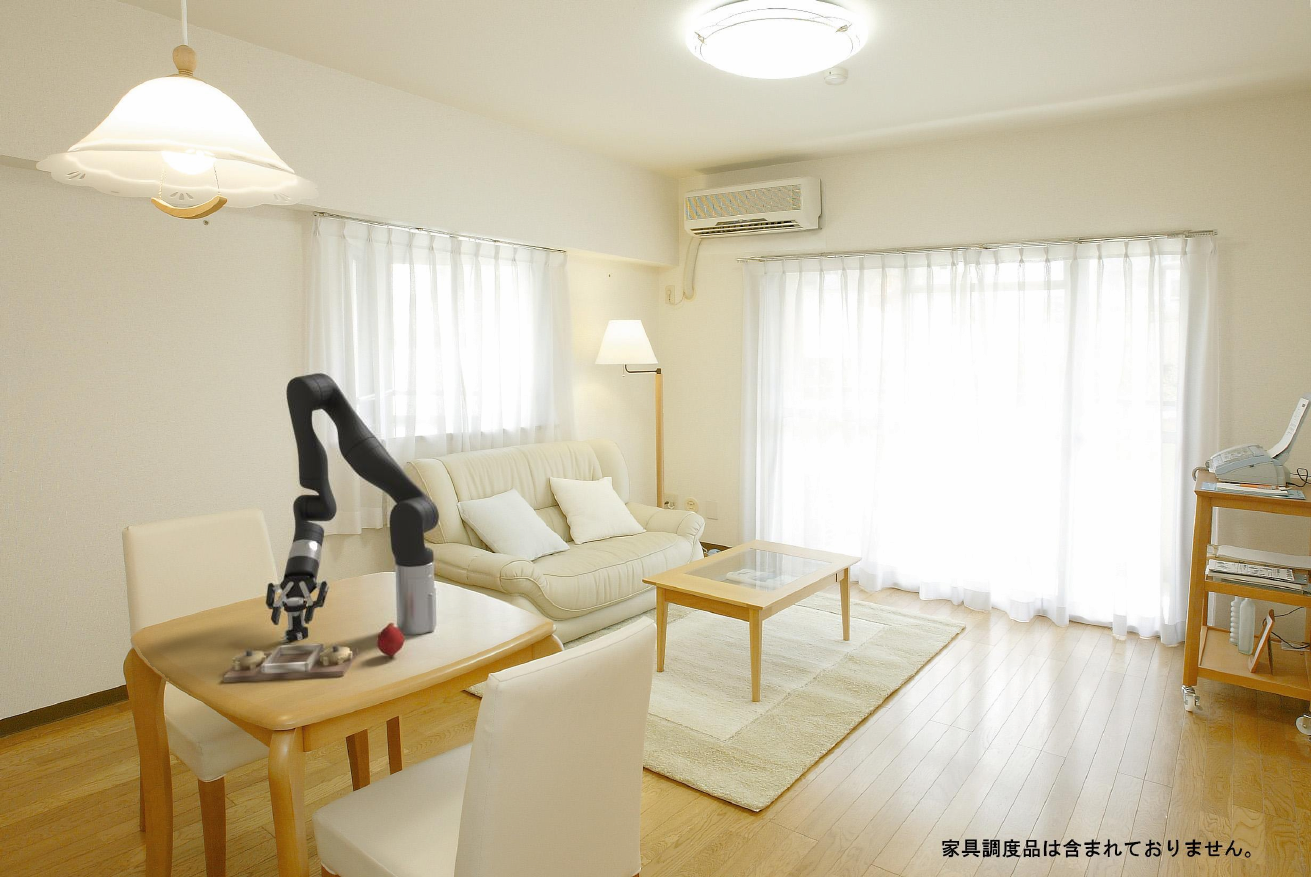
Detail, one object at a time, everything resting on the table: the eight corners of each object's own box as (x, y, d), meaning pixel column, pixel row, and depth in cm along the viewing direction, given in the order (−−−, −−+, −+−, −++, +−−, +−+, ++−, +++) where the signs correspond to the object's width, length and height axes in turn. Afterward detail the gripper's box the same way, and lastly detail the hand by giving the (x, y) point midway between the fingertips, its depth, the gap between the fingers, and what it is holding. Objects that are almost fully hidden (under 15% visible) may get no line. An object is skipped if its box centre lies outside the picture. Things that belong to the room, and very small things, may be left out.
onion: (388, 663, 172) (387, 628, 171) (372, 658, 175) (370, 623, 174) (409, 655, 177) (408, 621, 176) (392, 650, 180) (392, 616, 179)
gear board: (358, 653, 177) (358, 635, 177) (345, 676, 165) (344, 657, 164) (244, 659, 174) (243, 641, 173) (221, 682, 161) (220, 663, 160)
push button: (287, 646, 181) (285, 605, 180) (274, 642, 184) (272, 601, 183) (313, 638, 187) (311, 598, 186) (300, 633, 190) (298, 594, 189)
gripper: (269, 555, 190) (254, 617, 179) (330, 553, 192) (319, 614, 182) (277, 570, 196) (263, 631, 185) (336, 568, 198) (326, 628, 187)
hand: (291, 622), depth 183 cm, fingers open, 6 cm apart
